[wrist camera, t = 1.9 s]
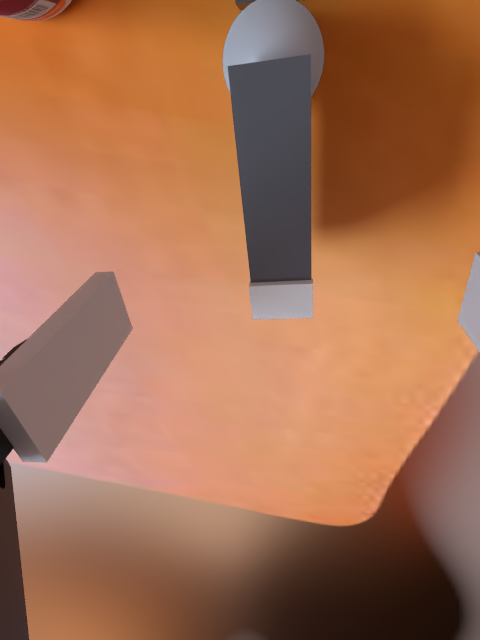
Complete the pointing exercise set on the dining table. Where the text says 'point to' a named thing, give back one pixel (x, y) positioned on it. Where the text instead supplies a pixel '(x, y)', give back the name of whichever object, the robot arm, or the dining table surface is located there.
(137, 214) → the dining table surface
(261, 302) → the dark bar with dome
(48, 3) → the pill bottle
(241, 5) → the base
